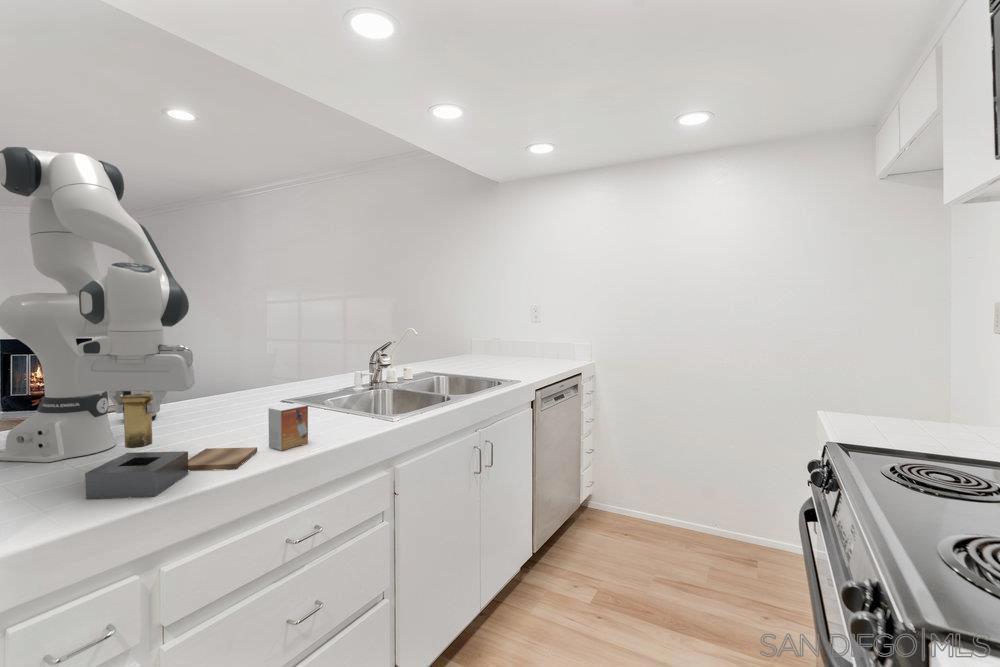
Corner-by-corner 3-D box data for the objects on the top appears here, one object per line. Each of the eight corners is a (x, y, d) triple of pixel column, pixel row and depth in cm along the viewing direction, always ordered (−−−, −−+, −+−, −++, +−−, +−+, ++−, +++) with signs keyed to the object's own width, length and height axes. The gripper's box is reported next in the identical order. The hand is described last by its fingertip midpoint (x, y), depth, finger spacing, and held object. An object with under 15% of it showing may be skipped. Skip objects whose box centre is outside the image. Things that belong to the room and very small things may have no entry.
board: (178, 470, 102) (178, 465, 102) (206, 453, 114) (205, 448, 114) (236, 469, 103) (236, 464, 103) (257, 452, 115) (257, 447, 115)
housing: (85, 499, 87) (84, 473, 86) (128, 475, 99) (127, 452, 98) (154, 496, 88) (154, 471, 88) (188, 473, 100) (187, 451, 100)
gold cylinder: (115, 448, 90) (114, 398, 89) (133, 440, 95) (132, 393, 95) (144, 448, 91) (143, 398, 90) (160, 440, 96) (159, 393, 95)
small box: (281, 451, 116) (280, 410, 115) (268, 447, 119) (267, 407, 118) (308, 443, 123) (308, 405, 122) (296, 440, 126) (295, 402, 125)
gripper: (200, 343, 96) (201, 408, 97) (92, 342, 93) (94, 408, 94) (183, 347, 90) (185, 416, 91) (67, 345, 87) (70, 416, 88)
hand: (138, 412), depth 93 cm, fingers closed on gold cylinder, 4 cm apart
